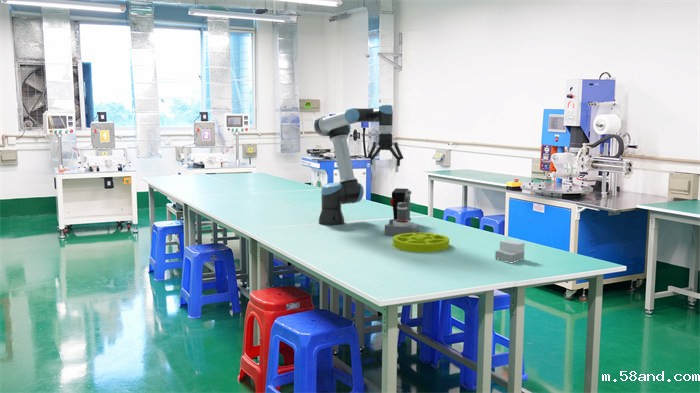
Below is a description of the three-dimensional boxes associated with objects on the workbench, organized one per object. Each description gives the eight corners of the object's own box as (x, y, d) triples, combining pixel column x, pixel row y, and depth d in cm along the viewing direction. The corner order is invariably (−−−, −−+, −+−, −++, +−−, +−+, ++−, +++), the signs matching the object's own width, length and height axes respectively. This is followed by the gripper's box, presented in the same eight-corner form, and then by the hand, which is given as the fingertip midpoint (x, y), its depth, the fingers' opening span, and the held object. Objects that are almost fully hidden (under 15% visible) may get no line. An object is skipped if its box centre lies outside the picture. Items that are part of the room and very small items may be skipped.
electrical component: (407, 227, 360) (408, 192, 357) (390, 226, 362) (390, 192, 359) (411, 221, 377) (411, 188, 374) (394, 221, 379) (394, 188, 376)
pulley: (383, 243, 320) (383, 233, 320) (430, 238, 331) (431, 229, 331) (409, 255, 295) (409, 244, 294) (460, 249, 306) (460, 239, 305)
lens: (396, 225, 339) (396, 203, 337) (399, 223, 344) (399, 202, 342) (405, 226, 337) (405, 204, 335) (408, 224, 342) (408, 202, 340)
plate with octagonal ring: (384, 234, 339) (384, 221, 338) (391, 231, 349) (391, 218, 348) (412, 237, 333) (413, 224, 332) (419, 233, 343) (419, 220, 342)
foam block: (492, 260, 285) (493, 243, 284) (505, 257, 292) (506, 239, 291) (511, 264, 278) (512, 246, 277) (523, 260, 286) (524, 242, 284)
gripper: (362, 133, 347) (361, 171, 350) (404, 133, 337) (404, 173, 341) (367, 132, 354) (366, 169, 357) (409, 133, 344) (408, 171, 347)
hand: (385, 171), depth 349 cm, fingers open, 13 cm apart
